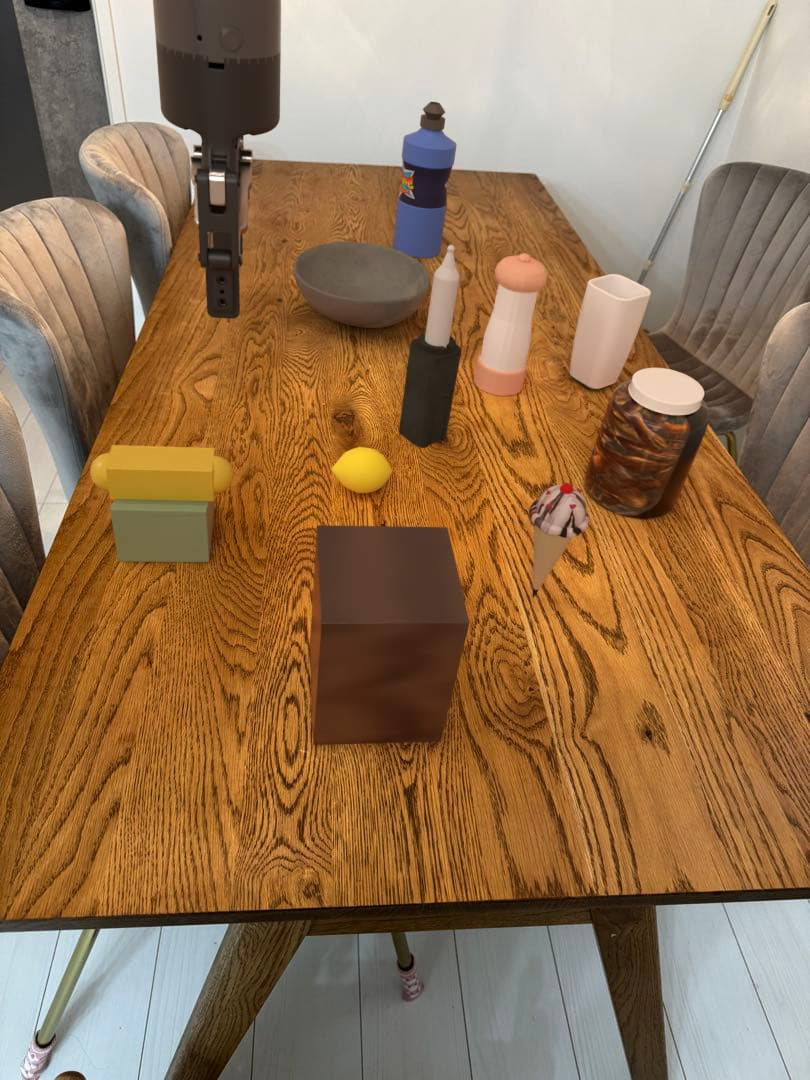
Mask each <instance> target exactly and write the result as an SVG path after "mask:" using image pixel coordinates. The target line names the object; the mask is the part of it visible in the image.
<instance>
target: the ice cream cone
mask: <svg viewBox="0 0 810 1080" xmlns="http://www.w3.org/2000/svg"><path fill="white" fill-rule="evenodd" d="M528 516H529V519H530V522H531V523H532V524H533V525H534V526H533V561H532V563H533V565H532V567H533V569H532V598H533V599H534V598H535V596H536V595H537V593H538V592H539V591H540V589H541V587H542V586H543V584H544V582H545V581H546V579H547V578H548V576H549V575H550V573H551V572H552V571H553V569H554V567H555V566H556V565H557V563H558V562H559V560H560V558H561V557H562V555H563V554H564V552H565V550H566V549H567V548H568V546H569V544H570V543H571V541H572V540H573V539H574V538H576V537H577V536H580V535H581V534H582V533H583V532H584V531H585V530H586V529H587V527H588V525H589V523H590V516H589V513H588V511H587V502H586V499H585V497H584V496H583V494H582V489H581V488H579V487H578V488H576V487H574V486H573V485H572V484H571V483H569V482H564V483H563V484H562V483H557V484H555V485H552V486H550V487H548V488H546V489H545V490H544V491H543V492H542V493H541V495H540V496H539V497H538V498H536V499H535V500H533V502H532V503H531V505H530V506H529V510H528Z"/></svg>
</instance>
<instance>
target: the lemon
mask: <svg viewBox="0 0 810 1080" xmlns="http://www.w3.org/2000/svg"><path fill="white" fill-rule="evenodd" d="M331 472H332V473H333V475H334V476H335V477H336V479H337V480H338V481H339V482H340V484H341V485H342V486H343V487H345V488H346V489H347V490H350V491H352V492H354V493H356V494H368V493H369V494H370V493H374V492H376V491H378V490H380V489H382V488H383V487H384V485H385V484H386V483H387V482H388V480H389V479H390V477H391V476H392V473H393V469H392V467H391V465H390V463H389V461H388V460H387V458H386V457H385V455H384V454H382V453H381V452H380V451H379V450H377V449H376V448H372V447H371V448H370V447H363V446H358V447H355V448H351V449H349V450H347V451H345V452H343V453H342V454H341V456H340V457H339V459H338V460H337V461H336V462H335V464H334V465H333V466H332V467H331Z"/></svg>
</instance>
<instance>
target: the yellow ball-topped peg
mask: <svg viewBox="0 0 810 1080" xmlns="http://www.w3.org/2000/svg"><path fill="white" fill-rule="evenodd" d="M89 472H90V478H91V480H92V482H93V483H94V485H95V486H96V487H98V488H99V489H101V490H103V491H105V492H108V494H109V500H115V499H119V500H171V501H215V496H216V495H215V494H220V493H223V492H225V491H227V490H228V489H229V488H230V487H231V486H232V483H233V482H234V477H235V472H234V469H233V465H232V464H231V462H229V460H227V459H226V458H225V457H222V456H220V455H216V448H215V447H200V446H199V447H197V446H195V447H193V446H166V445H165V446H163V445H162V446H161V445H158V446H157V445H132V444H131V445H130V444H127V445H126V444H111V447H110V451H109V452H104V453H102V454H100V455H98V456H96V458H95V459H94V460H93V461H92V463H91V465H90V470H89Z"/></svg>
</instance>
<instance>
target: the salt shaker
mask: <svg viewBox="0 0 810 1080" xmlns="http://www.w3.org/2000/svg"><path fill="white" fill-rule="evenodd" d="M494 277H495V280H496V282H497V289H496V294H495V300H494V304H493V309H492V312H491V314H490V317H489V320H488V323H487V326H486V328H485V331H484V334H483V340H482V345H481V352H480V354H478V356H477V360H476V365H475V370H474V375H473V380H472V381H473V383H474V385H475V386H476V387H477V388H478V389H479V390H482V391H483V392H484V393H488V394H490V395H494V396H499V397H502V396H503V397H508V396H515V395H517V394H519V393H520V392H521V391H522V390H523V387H524V383H525V378H526V374H527V370H528V363H527V358H528V356H529V351H530V348H531V341H532V326H533V316H534V312H535V307H536V303H537V298H538V294H539V291H541V290H542V289H543V288H544V286H546V284H547V282H548V271H547V269H546V266H544V264H543V263H542V262H540V261H539V260H537V259H535V258H533V257H531V255H530V254H529V253H526V252H524V253H520V254H518V255H509V256H505V257H503V258H502V259H501V260H499V262H498V263H497V264H496V267H495V269H494Z"/></svg>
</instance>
